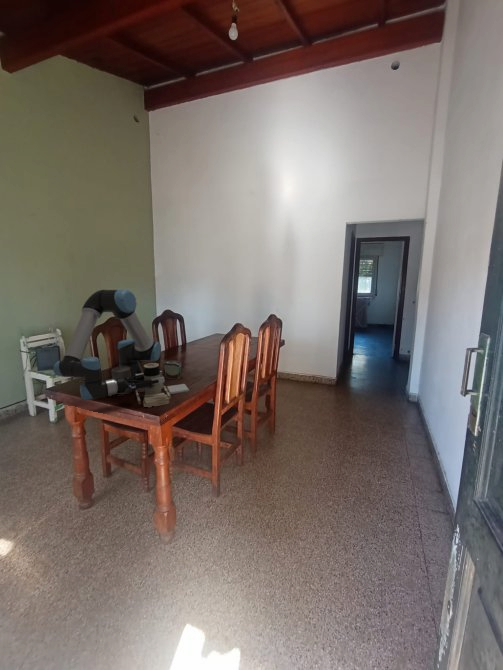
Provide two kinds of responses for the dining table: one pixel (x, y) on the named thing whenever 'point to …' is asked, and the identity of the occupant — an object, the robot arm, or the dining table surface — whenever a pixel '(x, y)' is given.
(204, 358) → the dining table surface
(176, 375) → the food container
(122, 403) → the dining table surface
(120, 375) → the pillar candle
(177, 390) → the mat
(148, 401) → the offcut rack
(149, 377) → the travel mug
